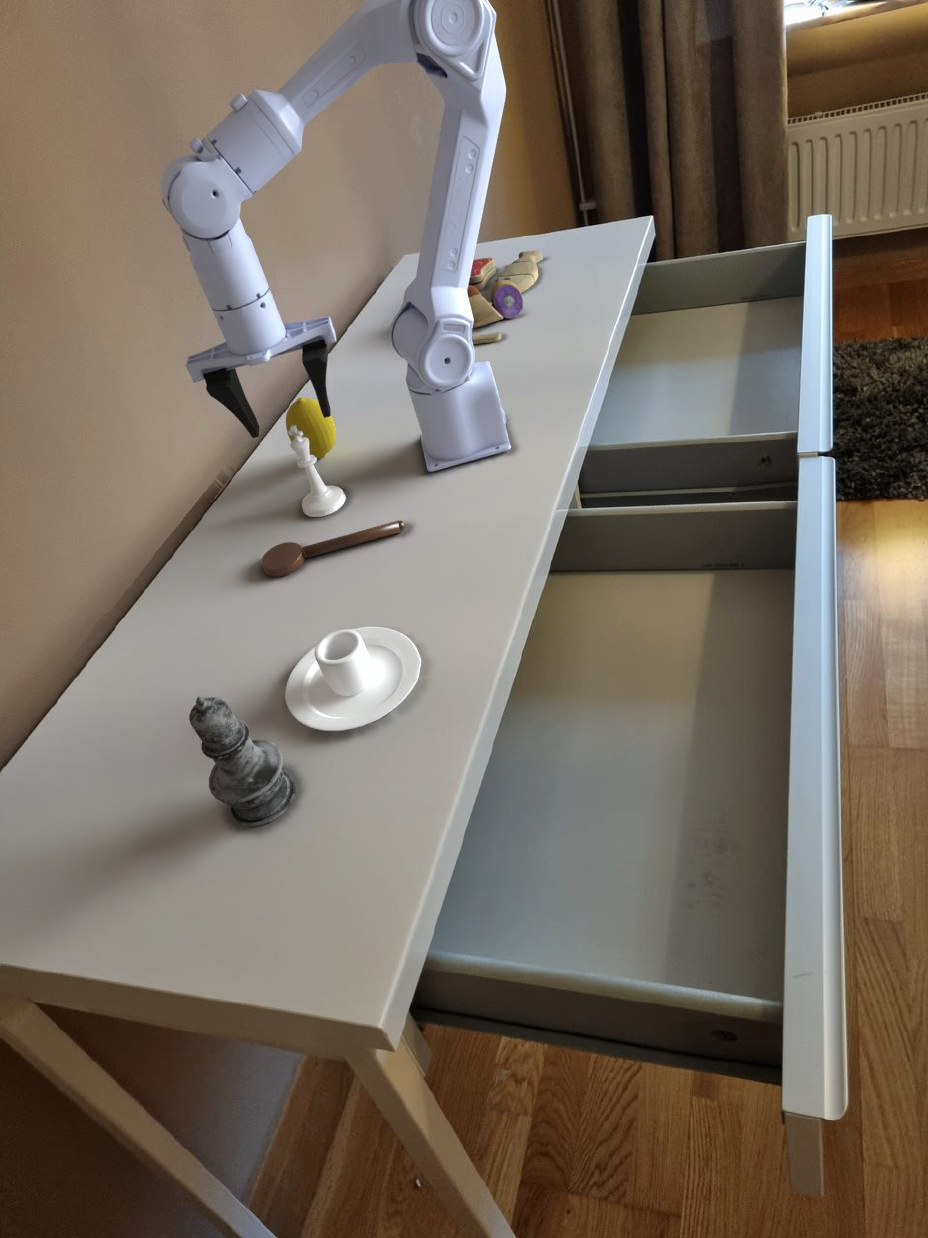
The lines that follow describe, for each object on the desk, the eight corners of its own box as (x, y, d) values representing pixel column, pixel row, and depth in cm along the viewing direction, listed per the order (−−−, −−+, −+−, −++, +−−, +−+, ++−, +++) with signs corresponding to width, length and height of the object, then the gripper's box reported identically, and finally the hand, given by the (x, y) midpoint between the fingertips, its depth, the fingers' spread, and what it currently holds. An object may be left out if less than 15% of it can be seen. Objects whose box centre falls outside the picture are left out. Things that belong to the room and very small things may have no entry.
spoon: (404, 517, 93) (401, 508, 92) (408, 541, 89) (405, 532, 89) (265, 555, 93) (261, 547, 93) (264, 581, 90) (259, 572, 89)
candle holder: (450, 667, 75) (438, 631, 72) (344, 760, 70) (326, 725, 67) (363, 615, 83) (349, 580, 80) (262, 696, 78) (243, 662, 75)
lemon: (337, 469, 103) (314, 409, 98) (294, 472, 105) (269, 413, 99) (350, 442, 107) (329, 383, 102) (308, 446, 108) (285, 388, 103)
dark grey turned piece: (231, 775, 72) (165, 676, 64) (300, 760, 71) (242, 658, 63) (223, 837, 67) (150, 738, 59) (296, 821, 67) (233, 719, 59)
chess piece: (327, 520, 96) (295, 441, 89) (294, 513, 98) (260, 436, 92) (354, 493, 98) (324, 415, 92) (321, 487, 101) (290, 410, 94)
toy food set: (517, 339, 117) (511, 310, 114) (401, 352, 122) (393, 325, 119) (544, 257, 134) (540, 230, 132) (443, 272, 139) (436, 247, 136)
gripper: (161, 335, 80) (222, 461, 89) (315, 290, 79) (361, 422, 88) (169, 305, 85) (226, 427, 94) (314, 263, 84) (357, 389, 93)
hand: (291, 422), depth 91 cm, fingers open, 7 cm apart
